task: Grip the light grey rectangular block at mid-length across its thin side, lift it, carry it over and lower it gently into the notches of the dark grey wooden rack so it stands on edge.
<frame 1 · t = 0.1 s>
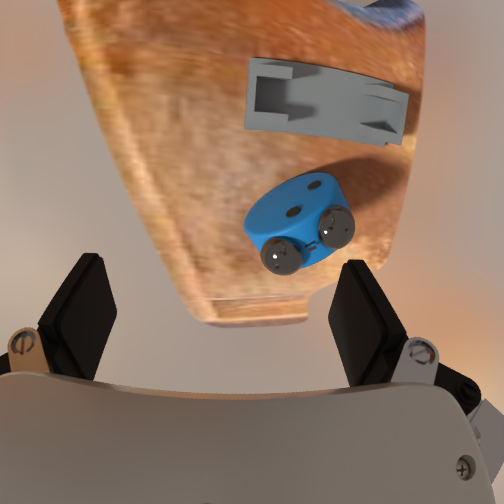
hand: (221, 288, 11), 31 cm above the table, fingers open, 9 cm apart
rack: (322, 101, 35), on the table
alarm clock: (289, 198, 42), on the table
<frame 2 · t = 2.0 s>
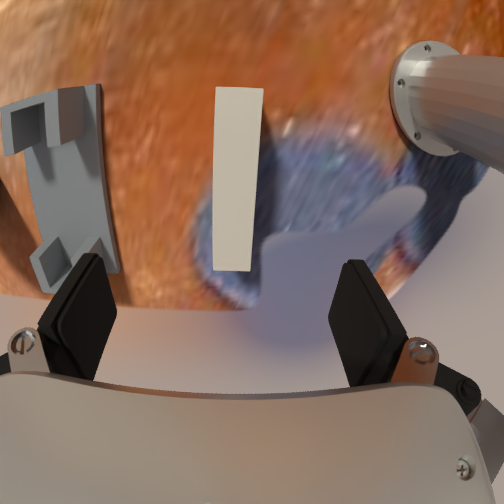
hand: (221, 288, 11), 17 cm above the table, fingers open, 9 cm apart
light grey rectangular block: (235, 163, 26), on the table
rack: (67, 186, 25), on the table
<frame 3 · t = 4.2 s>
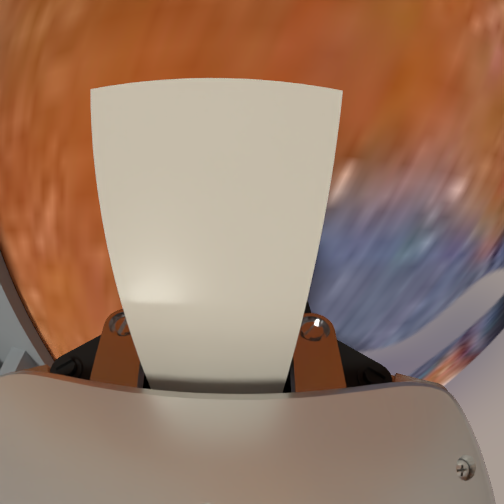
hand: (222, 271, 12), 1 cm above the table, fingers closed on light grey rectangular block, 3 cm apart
light grey rectangular block: (222, 260, 12), on the table, touching gripper
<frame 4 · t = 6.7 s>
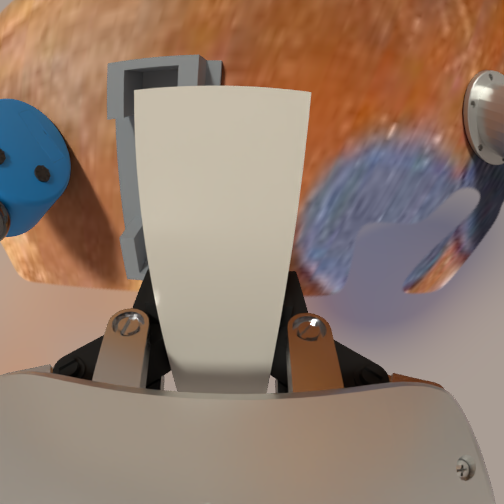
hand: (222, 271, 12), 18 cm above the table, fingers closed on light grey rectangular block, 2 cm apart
light grey rectangular block: (224, 241, 14), point 16 cm above the table, touching gripper
rack: (167, 164, 27), on the table
alarm clock: (47, 145, 25), on the table
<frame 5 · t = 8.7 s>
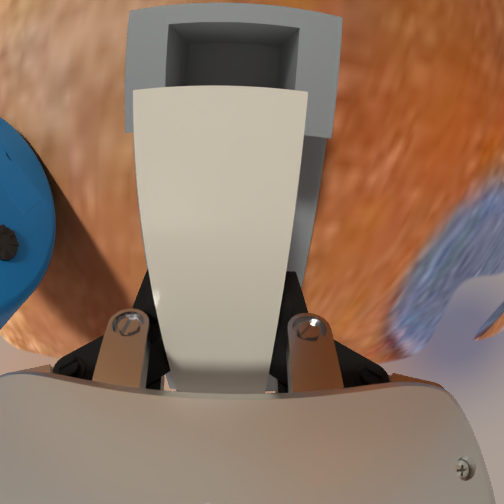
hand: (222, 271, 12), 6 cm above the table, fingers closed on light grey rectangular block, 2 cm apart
light grey rectangular block: (223, 241, 14), point 4 cm above the table, touching gripper
rack: (226, 210, 17), on the table
alarm clock: (18, 173, 14), on the table
when the fingers open (3 cm above the table, at t = 9.5 s): light grey rectangular block stays where it is, resting on rack.
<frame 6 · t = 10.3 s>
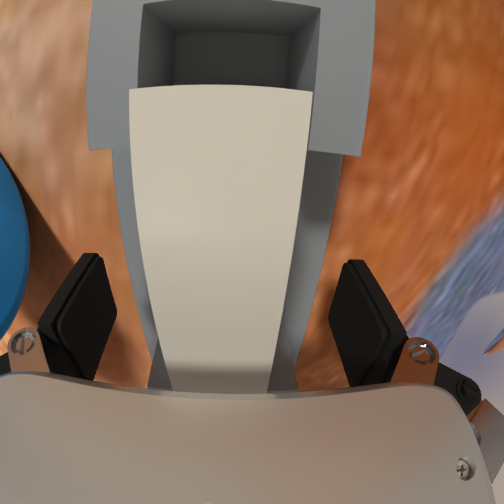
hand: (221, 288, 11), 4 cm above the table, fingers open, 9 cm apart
light grey rectangular block: (223, 244, 14), point 1 cm above the table, touching rack
rack: (224, 234, 14), on the table
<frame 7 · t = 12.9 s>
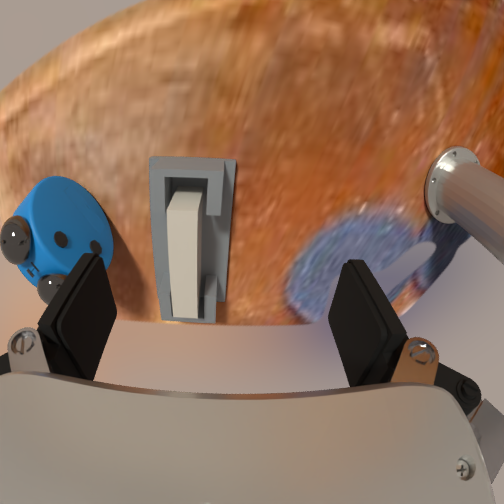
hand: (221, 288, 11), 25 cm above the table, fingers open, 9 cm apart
light grey rectangular block: (190, 238, 36), point 1 cm above the table, touching rack
rack: (190, 235, 37), on the table
alarm clock: (85, 210, 34), on the table
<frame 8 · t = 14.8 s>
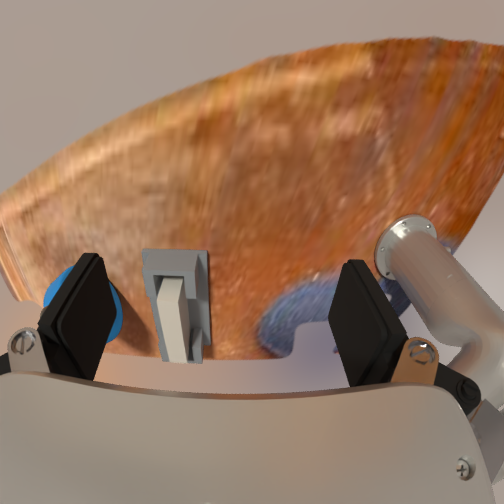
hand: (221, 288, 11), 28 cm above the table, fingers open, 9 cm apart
light grey rectangular block: (179, 305, 47), point 1 cm above the table, touching rack
rack: (179, 301, 48), on the table
alarm clock: (97, 282, 45), on the table
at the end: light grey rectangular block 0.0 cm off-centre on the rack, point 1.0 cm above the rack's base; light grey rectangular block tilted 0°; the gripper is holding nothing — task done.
